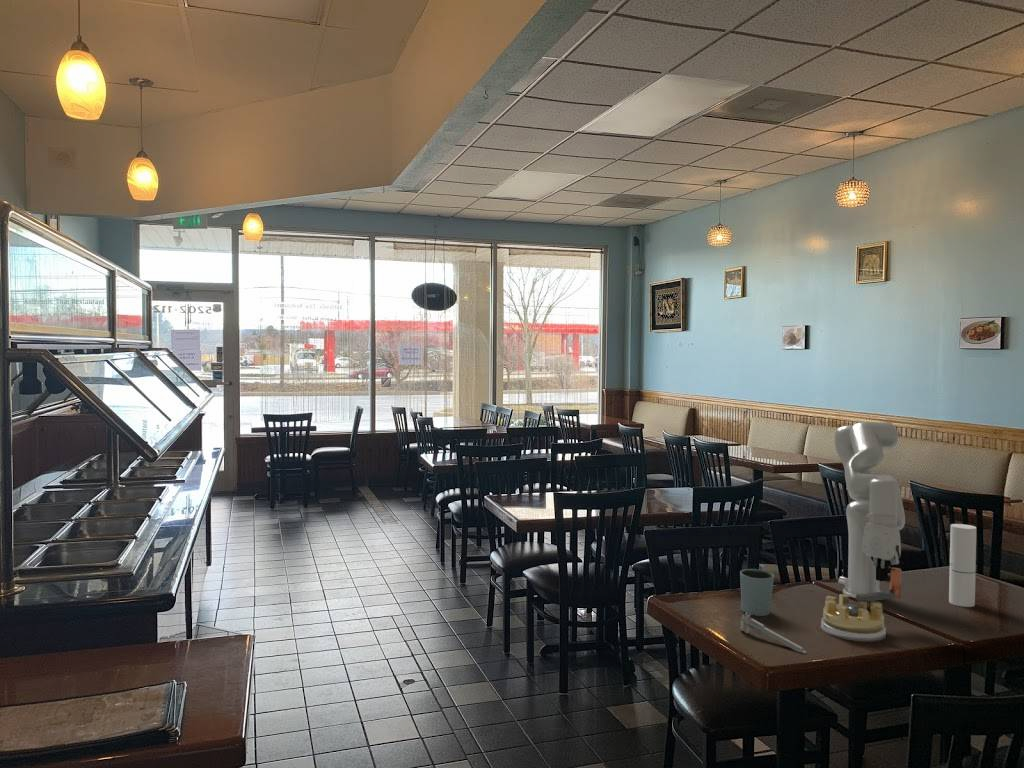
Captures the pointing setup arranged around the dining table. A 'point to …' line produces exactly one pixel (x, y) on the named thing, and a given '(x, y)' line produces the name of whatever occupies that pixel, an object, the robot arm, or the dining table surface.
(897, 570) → the crank handle mechanism
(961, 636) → the dining table surface
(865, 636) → the plate
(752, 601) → the grey green cup
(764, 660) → the dining table surface
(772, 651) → the dining table surface
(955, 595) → the cylindrical container
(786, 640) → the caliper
